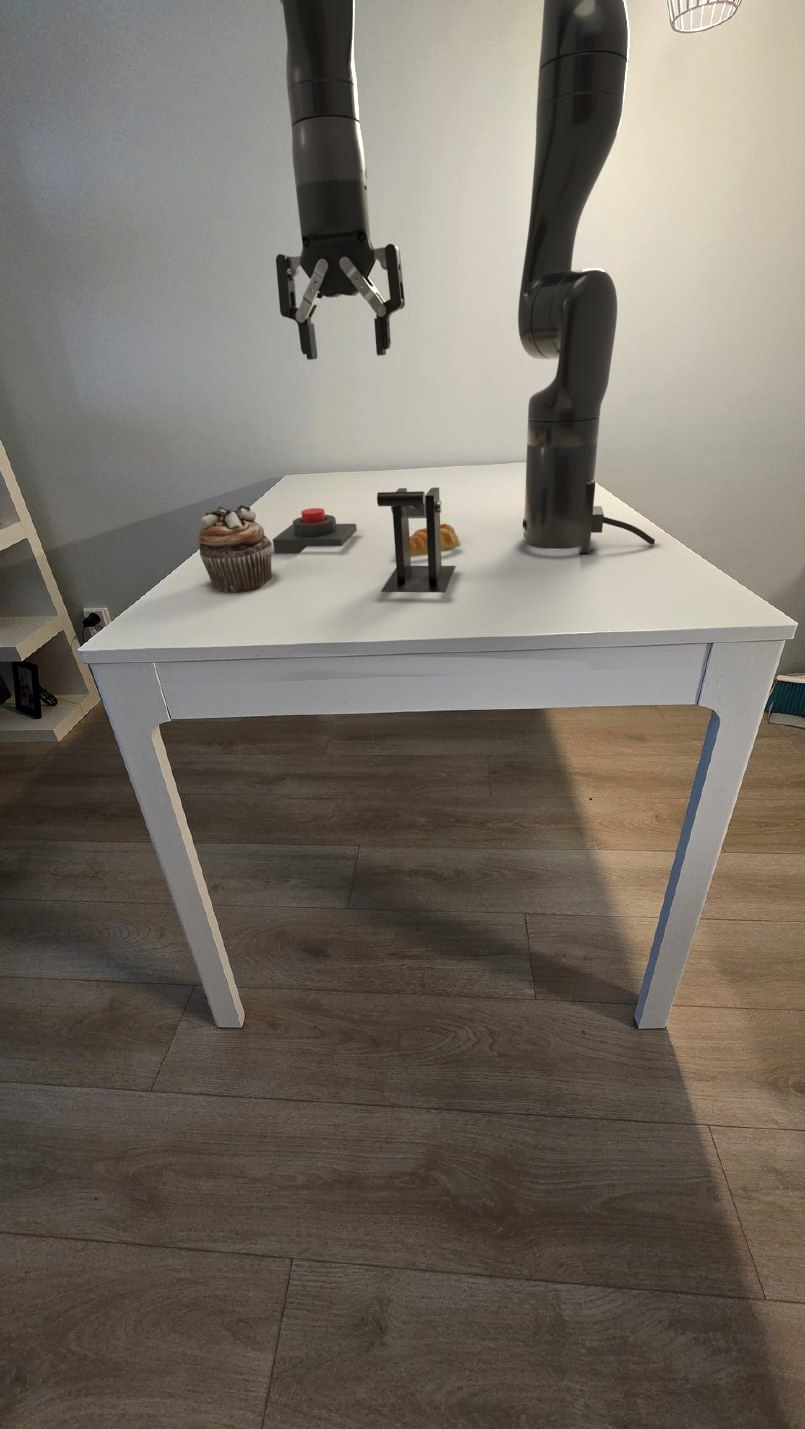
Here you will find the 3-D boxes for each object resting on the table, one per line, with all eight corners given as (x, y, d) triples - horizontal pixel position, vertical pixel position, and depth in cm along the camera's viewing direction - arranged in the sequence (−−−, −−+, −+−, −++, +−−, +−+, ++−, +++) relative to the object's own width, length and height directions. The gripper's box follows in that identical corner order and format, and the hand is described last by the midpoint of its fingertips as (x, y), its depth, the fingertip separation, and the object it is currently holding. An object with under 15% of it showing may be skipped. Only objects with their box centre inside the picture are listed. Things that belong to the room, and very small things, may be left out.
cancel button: (328, 519, 101) (327, 507, 101) (321, 525, 98) (320, 513, 98) (306, 519, 102) (305, 508, 101) (299, 525, 99) (297, 513, 98)
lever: (422, 509, 68) (423, 485, 67) (376, 510, 69) (376, 486, 68) (438, 518, 78) (439, 497, 78) (398, 518, 79) (398, 498, 79)
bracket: (445, 601, 77) (443, 500, 71) (381, 600, 79) (373, 501, 73) (456, 574, 86) (454, 482, 80) (397, 574, 87) (391, 483, 81)
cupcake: (197, 596, 84) (179, 519, 79) (219, 572, 93) (204, 501, 88) (268, 593, 84) (255, 515, 79) (284, 570, 92) (273, 498, 87)
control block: (357, 537, 105) (355, 512, 103) (342, 553, 97) (339, 526, 95) (294, 537, 107) (290, 513, 105) (274, 553, 99) (270, 527, 97)
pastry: (415, 567, 89) (413, 539, 87) (385, 558, 94) (383, 532, 92) (464, 552, 94) (464, 525, 92) (434, 544, 99) (433, 519, 97)
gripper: (254, 184, 66) (279, 362, 74) (389, 168, 64) (399, 355, 72) (279, 196, 73) (299, 359, 81) (403, 182, 70) (411, 352, 78)
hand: (346, 357), depth 76 cm, fingers open, 8 cm apart
